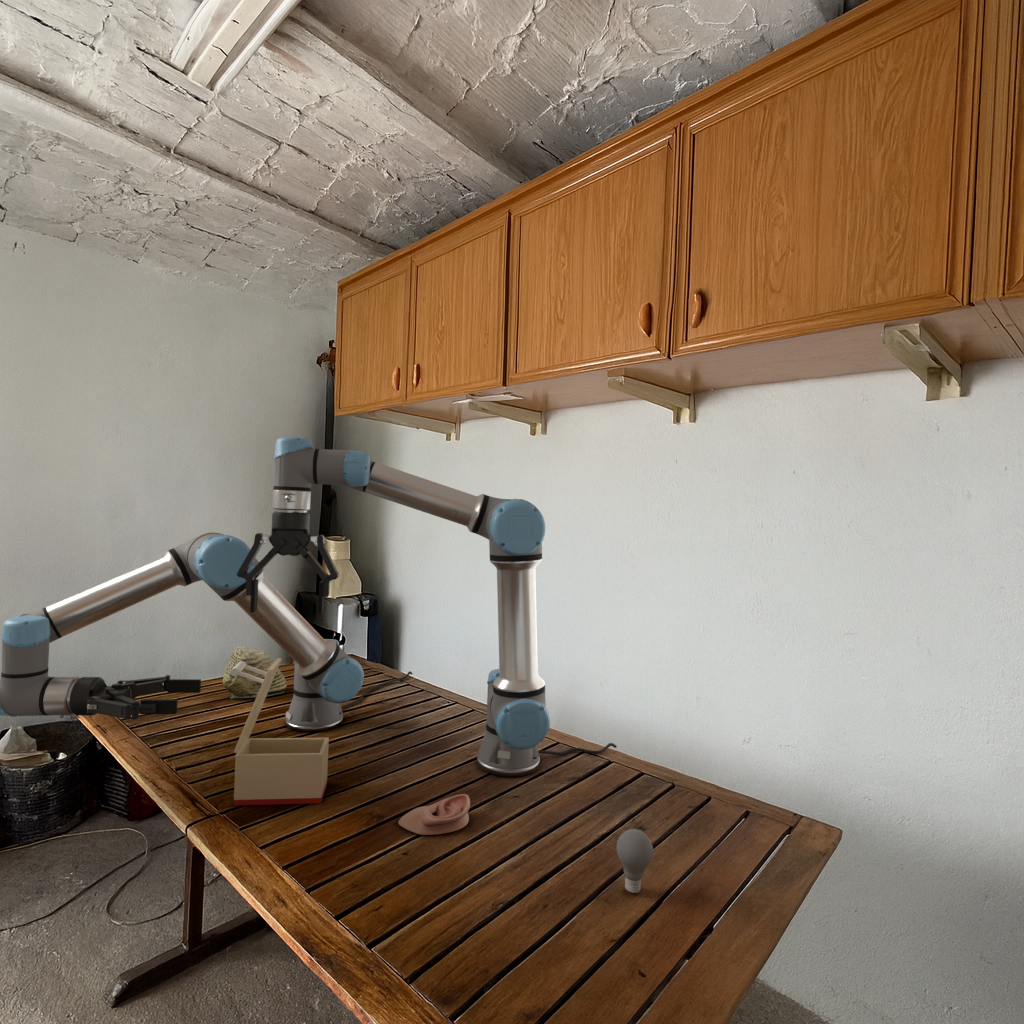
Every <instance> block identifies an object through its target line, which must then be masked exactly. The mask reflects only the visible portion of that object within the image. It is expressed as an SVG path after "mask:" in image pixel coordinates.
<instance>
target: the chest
mask: <svg viewBox="0 0 1024 1024" xmlns="http://www.w3.org/2000/svg"><path fill="white" fill-rule="evenodd" d="M329 744H330V737H272V738H271V737H264V738H263V737H261V738H260V737H257V738H250V737H249V738H248V740H247V741H246V742H245V744H244V745H243V747H242V748H241V750H240V751H239V752H238V754H237V753H235V759H234V761H235V762H234V784H233V785H234V788H233V789H234V790H233V806H267V805H269V806H272V805H306V804H307V805H309V804H322V801H323V798H324V794H325V791H326V789H327V785H328V771H329Z"/></svg>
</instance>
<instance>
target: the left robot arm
mask: <svg viewBox="0 0 1024 1024" xmlns="http://www.w3.org/2000/svg"><path fill="white" fill-rule="evenodd" d="M250 550H251V548H250V546H248V544H246V542H244V540H242V539H240V538H238V537H235V536H233V535H229V534H224V533H220V532H206V533H202V534H200V535H197V536H195V537H194V538H192V539H191V538H190V539H189V540H187V541H185V542H183V543H180V544H179V545H177V546H174V547H172V548H170V549H168V550H166V551H165V553H164V555H163V556H162V557H160V558H157V559H155V560H153V561H150V562H148V563H146V564H143V565H141V566H138V567H136V568H134V569H132V570H129V571H127V572H124V573H123V574H119V575H118V576H116V577H112V578H111V579H108V580H106V581H103V582H101V583H98V584H96V585H94V586H91V587H89V588H87V589H84V590H83V591H80V592H77V593H75V594H73V595H71V596H68V597H65V598H64V599H63V598H62V599H61V600H59V601H57V602H54V603H51V604H49V605H47V606H45V607H42V608H40V609H37V610H34V611H32V612H30V613H29V612H28V613H22V614H19V615H17V616H16V617H10V618H8V619H6V620H5V621H4V623H3V624H2V631H1V632H2V633H1V673H0V716H4V717H11V718H12V717H13V718H14V717H16V718H17V717H35V716H36V717H39V716H40V717H41V716H47V717H48V716H57V717H58V719H59V718H60V719H63V718H64V717H65V716H77V717H79V716H80V717H81V716H85V717H86V716H95V715H97V714H98V715H104V716H109V717H113V718H114V717H115V718H117V719H118V718H119V719H122V720H123V719H124V720H128V719H131V720H138V719H139V718H140V715H177V714H178V703H179V702H178V701H179V700H178V698H172V699H171V698H154V699H153V698H152V699H151V698H150V699H149V698H147V699H146V698H143V699H140V701H139V700H136V698H137V697H143V696H149V695H154V694H159V693H165V692H167V693H168V694H199V693H201V690H202V679H199V678H198V679H196V678H195V679H190V678H189V679H188V678H186V679H183V678H181V679H180V678H179V679H178V678H177V679H174V678H171V675H169V674H166V675H165V676H158V677H149V678H138V679H129V680H128V679H127V680H126V679H125V680H118V681H117V682H116V683H112V684H111V685H107V684H106V681H105V680H104V678H102V677H100V676H81V677H80V676H49V660H50V659H49V658H50V657H49V656H50V643H52V642H55V641H57V640H59V639H61V638H63V637H65V636H67V635H69V634H72V633H74V632H76V631H78V630H81V629H83V628H85V627H89V626H90V625H92V624H94V623H97V622H99V621H101V620H104V619H105V618H108V617H109V616H112V615H114V614H117V613H119V612H122V611H123V610H125V609H128V608H130V607H132V606H134V605H136V604H139V603H141V602H143V601H146V600H147V599H148V600H149V599H150V598H152V597H154V596H158V595H159V594H162V593H163V592H165V591H168V590H170V589H172V588H174V587H177V586H181V587H187V586H189V585H192V584H194V583H197V582H200V581H203V582H204V583H205V584H206V585H207V586H208V587H209V588H210V589H211V590H212V591H213V592H214V593H215V594H217V596H218V597H219V598H220V599H221V600H223V601H224V602H234V603H236V605H237V606H238V607H240V608H241V609H242V610H243V611H244V612H245V613H246V614H247V616H249V617H250V618H251V620H253V622H254V623H256V624H257V626H259V628H261V630H263V631H264V633H266V634H267V635H268V636H269V637H270V638H271V639H272V640H273V641H274V642H275V643H276V644H277V645H278V646H279V647H280V649H282V650H283V651H284V652H285V653H286V654H287V655H288V656H289V657H290V658H291V659H292V660H293V661H294V672H293V673H294V674H293V695H292V696H293V697H292V699H291V702H290V704H289V708H288V710H286V712H285V726H286V728H287V729H289V730H291V731H294V732H295V731H296V732H301V733H316V732H325V731H329V730H332V729H335V728H337V727H339V726H340V725H342V723H343V722H344V714H343V709H345V708H347V707H348V708H349V707H350V706H353V705H354V704H356V703H359V702H360V701H361V700H362V699H363V698H364V697H365V696H366V695H367V694H369V693H370V692H372V691H373V690H376V689H377V688H380V687H382V686H385V685H388V684H391V683H395V682H399V681H402V680H405V679H407V678H408V677H409V676H410V675H413V672H412V671H408V672H407V674H406V675H405V676H402V677H399V678H395V679H391V680H388V681H385V682H382V683H379V684H377V685H375V686H372V687H371V688H369V689H367V690H366V691H365V692H364V693H362V694H361V696H359V697H358V698H357V699H355V700H354V701H351V702H349V701H350V700H352V699H353V698H355V697H356V696H357V695H358V694H359V692H360V690H361V689H362V687H363V684H364V680H365V679H364V678H365V673H364V669H363V667H362V665H361V664H360V663H359V661H358V660H357V659H354V658H353V657H351V656H350V655H349V654H347V652H346V651H344V649H343V648H342V647H341V646H340V642H339V640H337V639H334V638H324V637H322V635H321V634H320V633H319V632H318V631H317V630H316V629H315V628H314V627H313V626H312V625H311V624H310V623H309V622H308V620H306V619H305V618H304V617H303V615H301V613H299V611H298V610H296V608H294V606H293V605H292V604H291V603H290V602H289V601H288V600H287V599H286V598H285V597H284V596H283V595H282V594H281V593H280V592H279V591H278V589H277V588H276V587H274V585H272V583H271V582H270V581H269V580H268V579H267V578H266V577H265V575H264V572H265V567H264V568H263V569H262V570H261V571H260V572H259V573H258V574H257V575H256V577H255V578H254V579H258V603H257V611H255V612H250V604H251V596H247V595H246V580H245V579H244V578H241V577H238V576H237V572H238V571H239V569H240V567H241V565H242V564H243V562H244V560H245V558H246V557H247V555H248V553H249V551H250ZM259 562H260V561H259V560H258V559H257V558H256V557H255V559H254V560H253V562H252V564H251V566H250V567H249V569H248V571H247V572H249V573H250V572H251V571H252V569H253V568H254V567H255V566H256V565H257V564H258V563H259ZM347 702H349V703H347ZM344 703H346V704H344ZM341 704H344V705H341Z"/></svg>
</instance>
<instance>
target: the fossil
mask: <svg viewBox="0 0 1024 1024" xmlns="http://www.w3.org/2000/svg"><path fill="white" fill-rule="evenodd" d="M240 661H244V662H245V663H246V665H248V666H251V667H254V668H257V669H260V670H263V671H265V672H267V671H268V669H269V668H270V666H271V665H272V664H273V663H274V662H275V660H273V659H272V658H271V657H270V656H269V655H268V654H267V653H266V652H265V650H264V649H263V648H260V647H258V648H251V647H247V646H246V647H245V646H238V647H237V648H236V649H235V650H233V651H232V653H231V656H230V657H229V659H228V660H227V663H226V666H225V668H224V671H223V675H222V676H223V677H222V685H223V687H224V688H225V690H226V691H228V693H229V698H230V699H250V698H256V697H257V695H258V692H259V690H260V688H261V685H262V683H260V682H257V681H254V680H251V679H248V678H245V677H242V676H239V675H237V676H232V675H231V674H230V671H231V669H233V668H234V667H235V666H236V665H237V664H238V663H239V662H240ZM241 672H244V673H247V674H250V675H253V676H256V677H258V678H261V679H264V678H265V676H264V675H261V674H259V673H256V672H253V671H250V670H247V669H243V670H242V671H241ZM287 687H288V686H287V680H286V678H285V676H284V674H283V673H282V672H281V669H279V668H278V669H277V672H276V674H275V677H274V679H273V681H272V684H271V686H270V689H269V691H268V693H267V696H266V697H271V696H275V695H281V694H284V693H285V691H286V689H287Z"/></svg>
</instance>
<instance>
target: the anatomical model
mask: <svg viewBox="0 0 1024 1024" xmlns="http://www.w3.org/2000/svg"><path fill="white" fill-rule="evenodd" d="M470 808H471V799H470V796H469V795H468V794H466V793H461V794H456V795H452V796H448V797H447V798H443V799H441V800H439V801H436V802H435V803H432V804H430V805H425V806H419V807H416V808H413V809H411V810H410V811H408V812H407V813H405V814H404V815H403V816H402V817H400V818H399V820H398V822H397V823H398V825H399V826H400V827H402V828H403V829H405V830H406V831H409V832H411V833H413V834H417V835H421V836H431V835H432V836H433V835H442V834H448V833H452V832H456V831H459V830H461V829H463V828H464V827H466V826H467V825H468V823H469V821H470V816H469V810H470Z"/></svg>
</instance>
